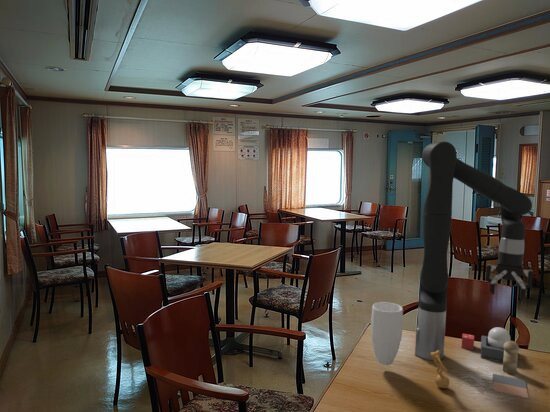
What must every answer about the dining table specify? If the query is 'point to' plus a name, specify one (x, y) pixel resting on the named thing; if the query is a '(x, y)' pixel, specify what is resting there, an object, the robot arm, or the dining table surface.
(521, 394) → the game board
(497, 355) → the dark grey square tray
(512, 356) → the wooden pawn
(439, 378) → the figurine
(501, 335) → the white ball
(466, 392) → the dining table surface
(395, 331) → the cup
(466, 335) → the red die
